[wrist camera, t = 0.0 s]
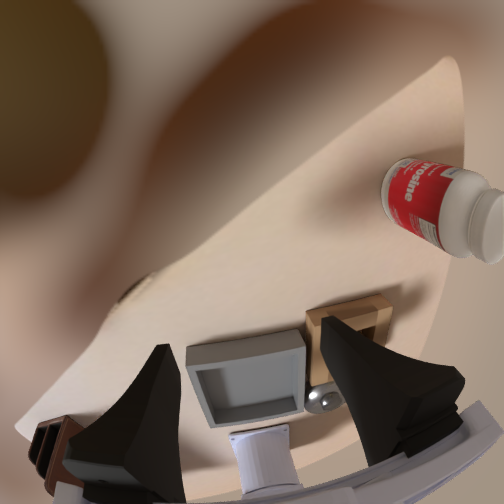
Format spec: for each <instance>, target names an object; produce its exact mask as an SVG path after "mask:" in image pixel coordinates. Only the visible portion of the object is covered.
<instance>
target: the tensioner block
mask: <svg viewBox="0 0 504 504" xmlns="http://www.w3.org/2000/svg"><path fill="white" fill-rule="evenodd" d="M392 310H393V305H392V304H391V303H390V302H389V301H388V300H387V299H386V298H385V297H383V296H382V295H381V294H378V295H374V296H370V297H366V298H362V299H358V300H354V301H350V302H346V303H341V304H337V305H333V306H328V307H324V308H319V309H315V310H310V311H306V366H305V372H306V374H307V377H308V379H309V381H310V384H311V386H316V385H320V384H323V383H327V382H330V381H334V379H333V377H332V376H331V374H330V372H329V370H328V368H327V367H326V364H325V362H324V359H323V356H322V354H321V351H320V337H321V318H323V317H328V316H332V315H334V316H335V317H337V318H338V319H340V320H341V321H342V322H344V323H345V324H347V325H348V326H350V327H351V328H353V329H354V330H356V331H358V330H361V329H362V334H363V335H364V336H365V337H367V338H368V339H370V340H372V341H374V342H375V343H377V344H379V345H381V346H383V347H385V343H386V339H387V335H388V330H389V325H390V320H391V315H392Z"/></svg>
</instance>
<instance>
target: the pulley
mask: <svg viewBox="0 0 504 504" xmlns="http://www.w3.org/2000/svg"><path fill="white" fill-rule="evenodd" d="M345 402H346V401H345V399H344V397H343V395H342V394H341V392H340V390H339V388H338V386H337V385H336V383H335V381H330V382H327V383H323V384H320V385H316V386H311V384H310V381H309V380H308V381H307V382H306V383H305V394H304V407H305V409H306V410H307V411H308V412H310V413H314V414H319V413H325V412H329V411H332V410H334V409H336V408H338V407H339V406H341V405H342V404H344V403H345Z"/></svg>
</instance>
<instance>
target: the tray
mask: <svg viewBox="0 0 504 504" xmlns="http://www.w3.org/2000/svg"><path fill="white" fill-rule="evenodd" d="M185 366H186V369H187V372H188V375H189V377H190V380H191V383H192V385H193V388H194V390H195V393H196V395H197V398H198V400H199V403H200V405H201V408H202V410H203V412H204V415H205V417H206V420H207V422H208V424H209V426H210V428H217V427H226V426H233V425H240V424H247V423H253V422H258V421H264V420H269V419H274V418H279V417H284V416H288V415H293V414H297V413H301V412H304V394H305V366H306V345H305V343H304V341H303V339H302V337H301V335H300V333H299V331H298V329H293V330H288V331H283V332H278V333H273V334H268V335H262V336H257V337H251V338H245V339H239V340H233V341H227V342H220V343H213V344H206V345H198V346H190V347H186V365H185Z"/></svg>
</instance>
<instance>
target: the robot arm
mask: <svg viewBox="0 0 504 504" xmlns="http://www.w3.org/2000/svg"><path fill="white" fill-rule="evenodd" d="M320 351H321V354H322V356H323V359H324V362H325V364H326V367H327V368H328V370H329V372H330V374H331V376H332V377H333V379H334V381H335V383H336V385H337V386H338V388H339V390H340V392H341V394H342V395H343V397H344V399H345V401H346V403H347V405H348V407H349V410H350V412H351V415H352V417H353V420H354V422H355V425H356V428H357V431H358V433H359V436H360V439H361V442H362V445H363V449H364V452H365V456H366V459H367V463H368V466H369V467H368V468H366V469H363V470H360V471H358V472H355V473H352V474H350V475H347V476H344V477H341V478H338V479H335V480H332V481H328V482H325V483H322V484H318V485H315V486H311V487H307V488H304V487H303V484H300V482H299V479H298V476H297V473H296V469H295V466H294V463H293V459H292V456H291V452H290V449H289V425H288V424H284V425H280V426H275V427H270V428H264V429H259V430H253V431H247V432H240V433H233V434H229V435H228V437H229V440H230V443H231V445H232V448H233V450H234V453H235V456H236V458H237V461H238V467H239V473H240V480H241V485H242V491H243V494H242V495H241V498H242V500H237V501H227V502H214V503H188V504H414V503H416V502H417V501H419V500H421V499H422V498H424V497H426V496H427V495H429V494H431V493H432V492H434V491H435V490H437V489H438V488H440V487H441V486H443V485H444V484H446V483H447V482H449V481H450V480H452V479H453V478H454V477H456V476H457V475H458V474H460V473H461V472H462V471H464V470H465V469H466V468H468V467H469V466H470V465H472V464H473V463H474V462H475V461H477V460H478V459H479V458H480V457H481V456H482V455H483V454H484V453H485V452H486V451H487V450H488V449H489V448H490V447H491V446H492V445H493V444H494V443H495V442H496V441H497V440H498V439H499V438H500V437H501V436H502V435H503V434H504V430H503V429H502V428H501V426H500V425H499V424H498V423H497V421H496V420H495V419H494V418H493V416H492V415H491V414H490V413H489V411H488V410H487V409H486V408H485V406H484V405H483V404H482V403H481V402H480V401H479V400H478V401H476V402H475V403H473V404H472V405H471V406H469V407H468V408H466V409H465V410H464V411H463V412H462V413H460V415H458V413H457V412H456V411H457V409H458V407H457V405H456V404H455V401H456V400H457V398H458V396H459V395H460V393H461V391H462V389H463V387H464V385H465V378H464V377H463V376H462V375H461V374H460V373H459V371H458V370H457V369H456V368H455V367H454V366H446V365H438V364H432V363H428V362H423V361H420V360H416V359H413V358H410V357H407V356H404V355H401V354H399V353H396V352H394V351H392V350H389V349H387V348H385V347H383V346H381V345H379V344H377V343H375V342H374V341H372V340H370V339H368V338H367V337H365V336H363V335H362V334H360V333H359V332H357V331H356V330H354V329H353V328H351V327H350V326H348V325H347V324H345V323H344V322H342V321H341V320H340V319H338V318H337V317H335V316H334V315H332V316H328V317H323V318H321V337H320ZM180 400H181V376H180V371H179V369H178V366H177V363H176V361H175V358H174V355H173V353H172V350H171V347H170V344H160V345H156V347H155V348H154V350H153V352H152V353H151V355H150V356H149V358H148V360H147V361H146V363H145V365H144V366H143V368H142V369H141V371H140V372H139V374H138V375H137V377H136V378H135V380H134V381H133V382H132V384H131V385H130V386H129V388H128V389H127V390H126V392H125V393H124V394H123V395H122V396H121V398H120V399H119V400H118V401H117V402H116V403H115V404H114V405H113V406H112V407H111V408H110V409H109V410H108V411H107V412H106V413H105V414H103V415H102V416H101V417H100V418H99V419H98V420H96V421H95V422H94V423H92V424H91V425H90V426H88V427H87V428H86V429H84V430H82V431H81V432H79V433H78V434H76V435H74V436H73V437H71V438H69V439H68V442H67V445H66V449H65V453H64V457H63V461H62V464H63V465H64V467H65V468H66V469H67V470H68V471H69V472H70V473H71V474H73V475H74V476H75V477H76V478H78V479H79V480H80V481H82V482H83V483H84V489H83V488H81V487H78V486H75V485H71V484H67V483H63V482H59V481H58V482H57V483H56V488H55V493H54V499H53V504H187V503H186V498H185V493H184V488H183V481H182V474H181V467H180V457H179V443H178V426H179V413H180Z"/></svg>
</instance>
